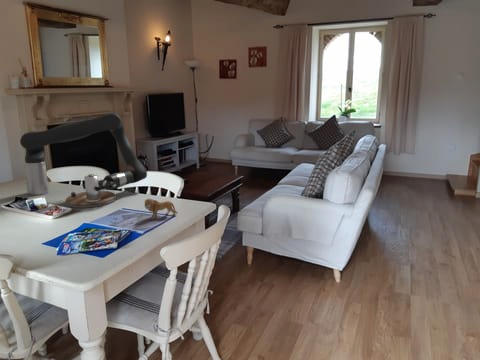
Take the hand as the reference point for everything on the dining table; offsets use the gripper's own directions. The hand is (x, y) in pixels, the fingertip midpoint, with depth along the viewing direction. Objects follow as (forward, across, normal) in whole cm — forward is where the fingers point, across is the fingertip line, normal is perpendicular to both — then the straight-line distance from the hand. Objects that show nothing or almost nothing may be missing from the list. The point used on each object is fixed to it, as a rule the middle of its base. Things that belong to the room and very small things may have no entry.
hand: (89, 188), depth 177 cm
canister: (-1, 0, +6) cm, 7 cm away
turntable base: (-5, -6, +9) cm, 12 cm away
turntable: (-5, -6, +8) cm, 11 cm away
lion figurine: (-3, +40, +9) cm, 42 cm away
